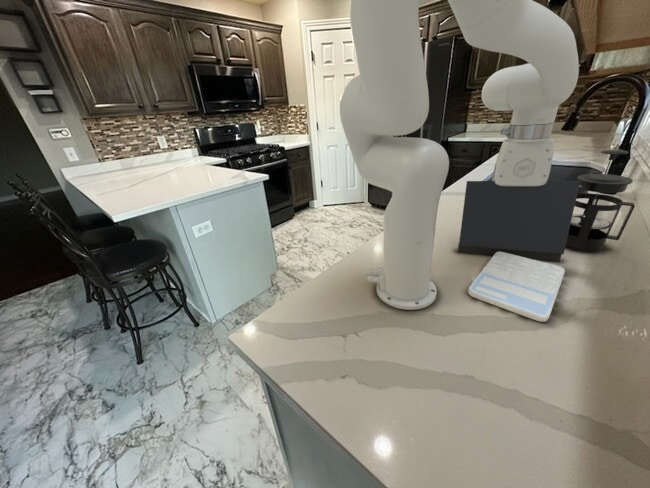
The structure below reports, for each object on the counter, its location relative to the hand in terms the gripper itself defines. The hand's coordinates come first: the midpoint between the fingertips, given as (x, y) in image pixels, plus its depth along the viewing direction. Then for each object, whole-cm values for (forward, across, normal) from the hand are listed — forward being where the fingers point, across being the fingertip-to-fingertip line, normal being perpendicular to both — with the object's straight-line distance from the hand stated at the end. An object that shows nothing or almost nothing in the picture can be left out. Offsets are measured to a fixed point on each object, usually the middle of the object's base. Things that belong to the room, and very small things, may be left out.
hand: (509, 211), depth 65 cm
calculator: (+10, 0, -17) cm, 20 cm away
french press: (+10, +18, +5) cm, 21 cm away
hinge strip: (+10, 0, -6) cm, 12 cm away
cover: (0, 0, -4) cm, 4 cm away
